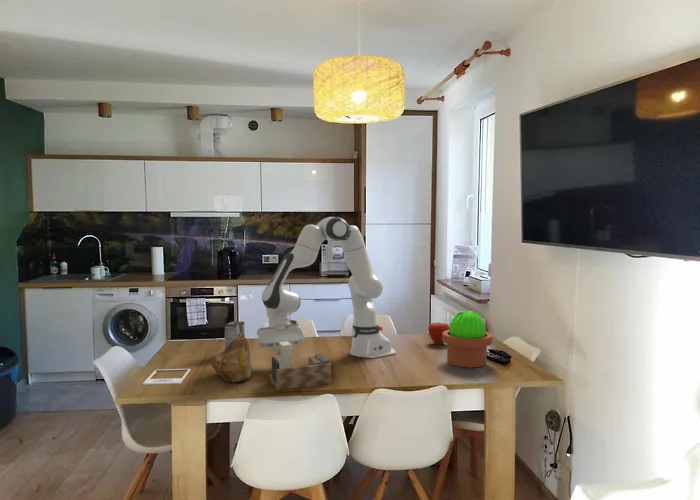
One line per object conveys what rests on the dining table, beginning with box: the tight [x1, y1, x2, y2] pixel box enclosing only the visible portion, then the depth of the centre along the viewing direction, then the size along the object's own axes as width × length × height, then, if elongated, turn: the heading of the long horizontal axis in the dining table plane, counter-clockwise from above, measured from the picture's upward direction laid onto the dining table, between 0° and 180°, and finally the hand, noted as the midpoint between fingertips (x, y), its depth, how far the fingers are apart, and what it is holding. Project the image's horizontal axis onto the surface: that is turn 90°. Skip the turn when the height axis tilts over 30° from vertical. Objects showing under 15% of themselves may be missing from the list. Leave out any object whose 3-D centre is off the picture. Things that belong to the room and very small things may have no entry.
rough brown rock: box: [210, 336, 252, 383], centre depth 209 cm, size 23×17×15 cm
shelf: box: [268, 353, 332, 391], centre depth 203 cm, size 22×14×10 cm, turn 111°
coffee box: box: [224, 320, 245, 350], centre depth 239 cm, size 9×6×16 cm
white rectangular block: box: [277, 341, 293, 369], centre depth 218 cm, size 4×8×12 cm, turn 21°
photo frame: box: [142, 368, 191, 386], centre depth 208 cm, size 15×1×18 cm
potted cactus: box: [442, 310, 493, 369], centre depth 229 cm, size 22×22×25 cm
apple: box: [427, 321, 450, 345], centre depth 264 cm, size 11×11×12 cm
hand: (284, 353), depth 218 cm, fingers closed on white rectangular block, 4 cm apart
